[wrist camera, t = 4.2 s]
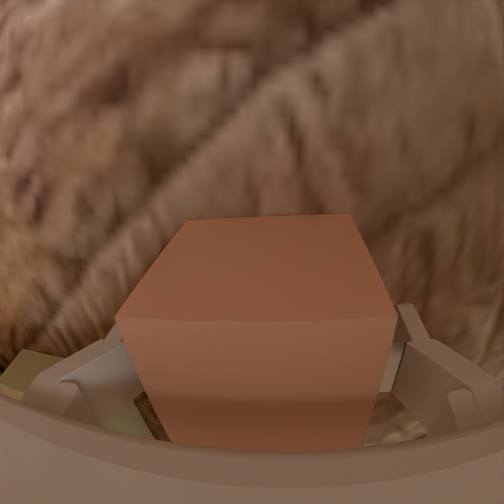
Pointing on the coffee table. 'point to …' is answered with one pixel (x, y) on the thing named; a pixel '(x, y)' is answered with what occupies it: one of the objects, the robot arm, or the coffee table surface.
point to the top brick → (262, 333)
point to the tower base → (33, 363)
